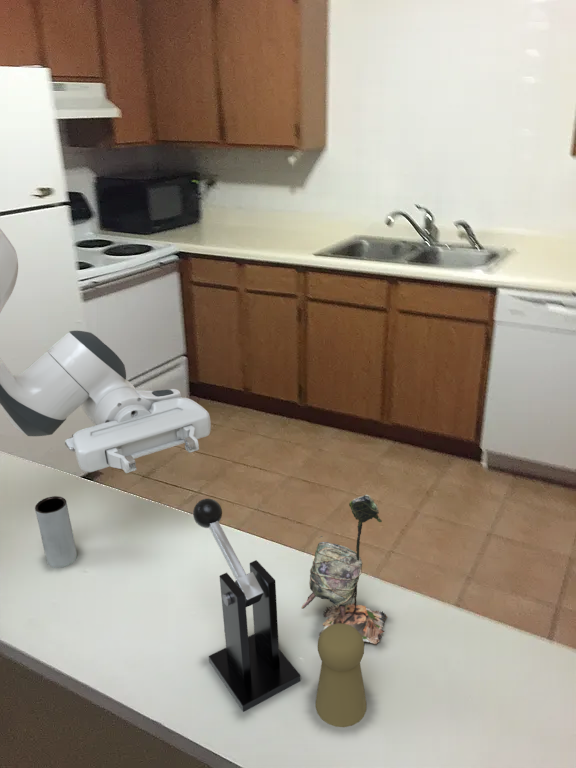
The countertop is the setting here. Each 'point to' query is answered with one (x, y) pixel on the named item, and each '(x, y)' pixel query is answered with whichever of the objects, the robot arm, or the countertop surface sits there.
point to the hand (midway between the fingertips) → (163, 457)
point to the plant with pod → (345, 579)
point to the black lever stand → (252, 644)
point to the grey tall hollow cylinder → (56, 531)
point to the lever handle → (227, 548)
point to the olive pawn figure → (341, 676)
